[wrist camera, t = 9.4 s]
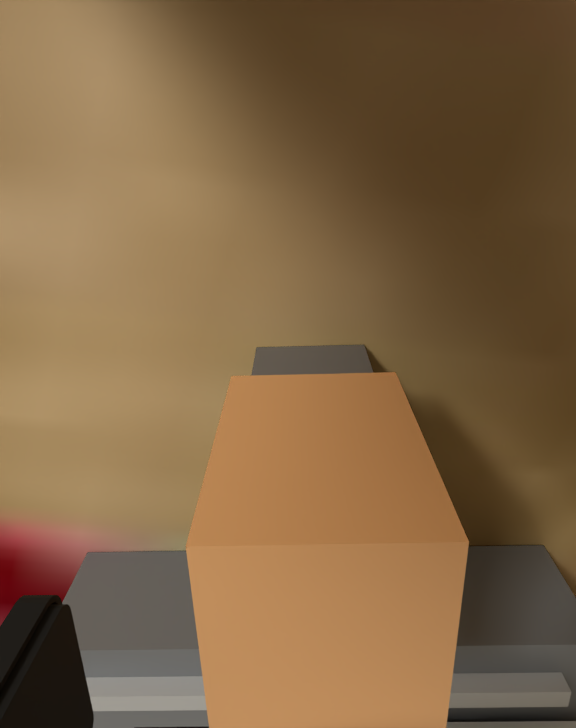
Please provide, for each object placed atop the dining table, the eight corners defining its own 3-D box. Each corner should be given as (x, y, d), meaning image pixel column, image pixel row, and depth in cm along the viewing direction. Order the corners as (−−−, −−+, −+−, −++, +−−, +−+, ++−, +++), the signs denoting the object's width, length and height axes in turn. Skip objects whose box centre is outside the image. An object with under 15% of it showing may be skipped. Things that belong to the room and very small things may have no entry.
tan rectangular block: (242, 335, 16) (186, 546, 8) (378, 331, 16) (468, 541, 8) (250, 451, 18) (210, 732, 9) (373, 448, 17) (445, 730, 9)
